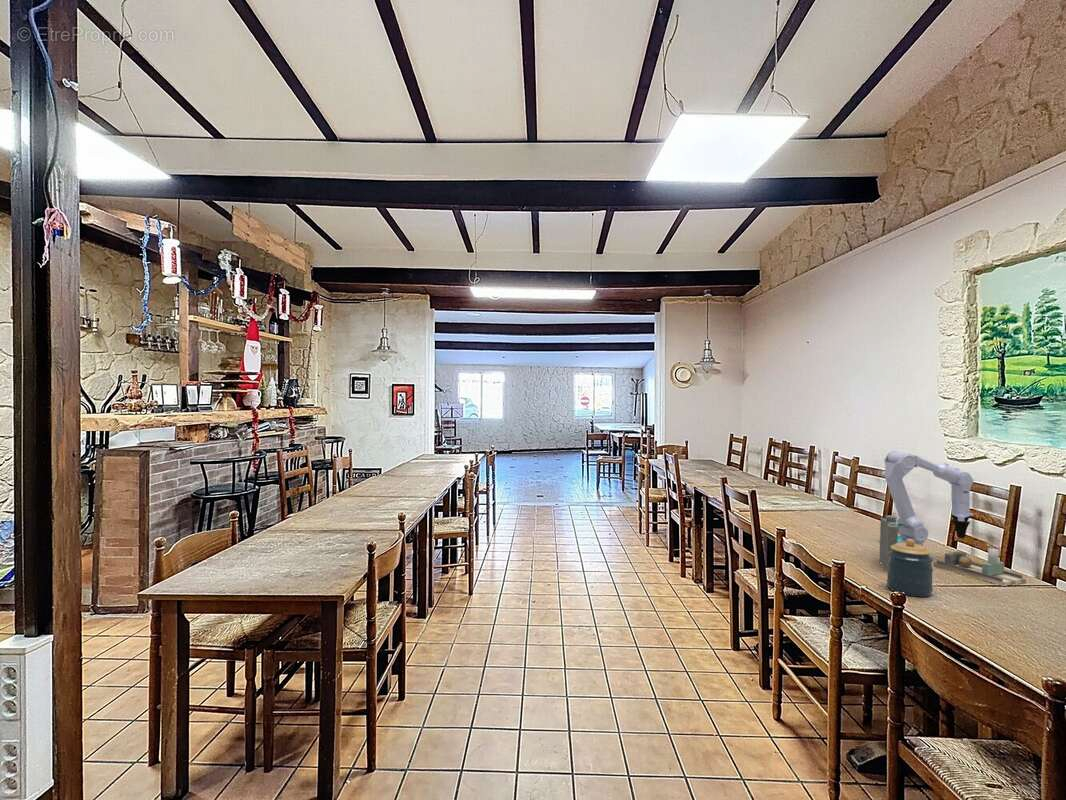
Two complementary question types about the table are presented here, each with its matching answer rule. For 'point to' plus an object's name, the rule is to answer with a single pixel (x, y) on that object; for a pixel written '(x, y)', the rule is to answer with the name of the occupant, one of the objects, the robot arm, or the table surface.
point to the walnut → (965, 561)
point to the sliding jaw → (993, 563)
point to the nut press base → (977, 570)
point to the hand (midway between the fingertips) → (960, 535)
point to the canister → (910, 569)
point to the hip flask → (887, 537)
